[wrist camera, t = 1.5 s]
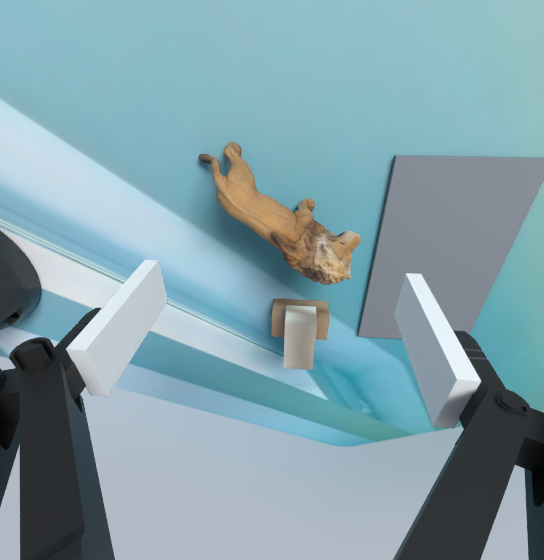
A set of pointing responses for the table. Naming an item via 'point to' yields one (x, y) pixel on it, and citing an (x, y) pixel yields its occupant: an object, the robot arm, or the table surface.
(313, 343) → the brick stack
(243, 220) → the lion figurine
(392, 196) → the gray mat
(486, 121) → the table surface
